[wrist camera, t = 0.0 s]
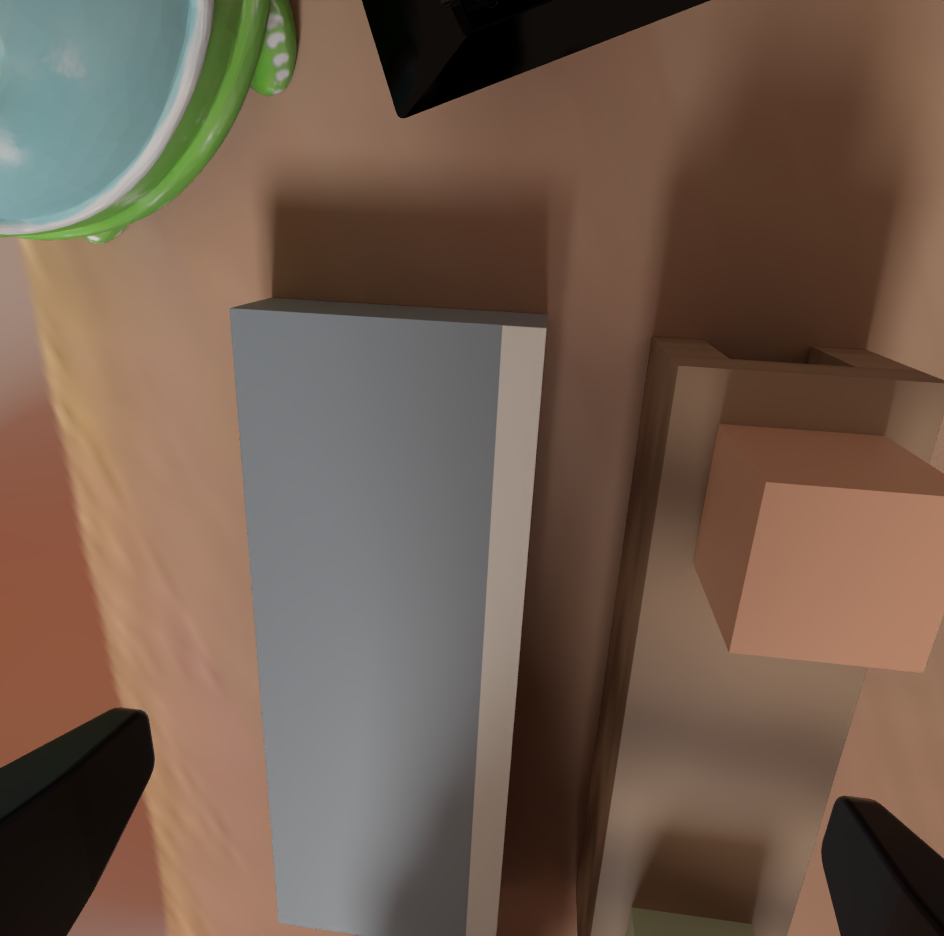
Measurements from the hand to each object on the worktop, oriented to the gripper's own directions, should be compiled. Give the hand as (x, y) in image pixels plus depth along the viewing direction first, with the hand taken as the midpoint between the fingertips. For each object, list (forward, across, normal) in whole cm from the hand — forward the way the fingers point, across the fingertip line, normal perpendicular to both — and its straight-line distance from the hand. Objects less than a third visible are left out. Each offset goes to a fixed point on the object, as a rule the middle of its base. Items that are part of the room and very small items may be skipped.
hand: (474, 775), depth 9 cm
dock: (+15, +4, +8) cm, 17 cm away
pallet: (+15, -7, +8) cm, 19 cm away
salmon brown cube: (+10, -7, 0) cm, 12 cm away
